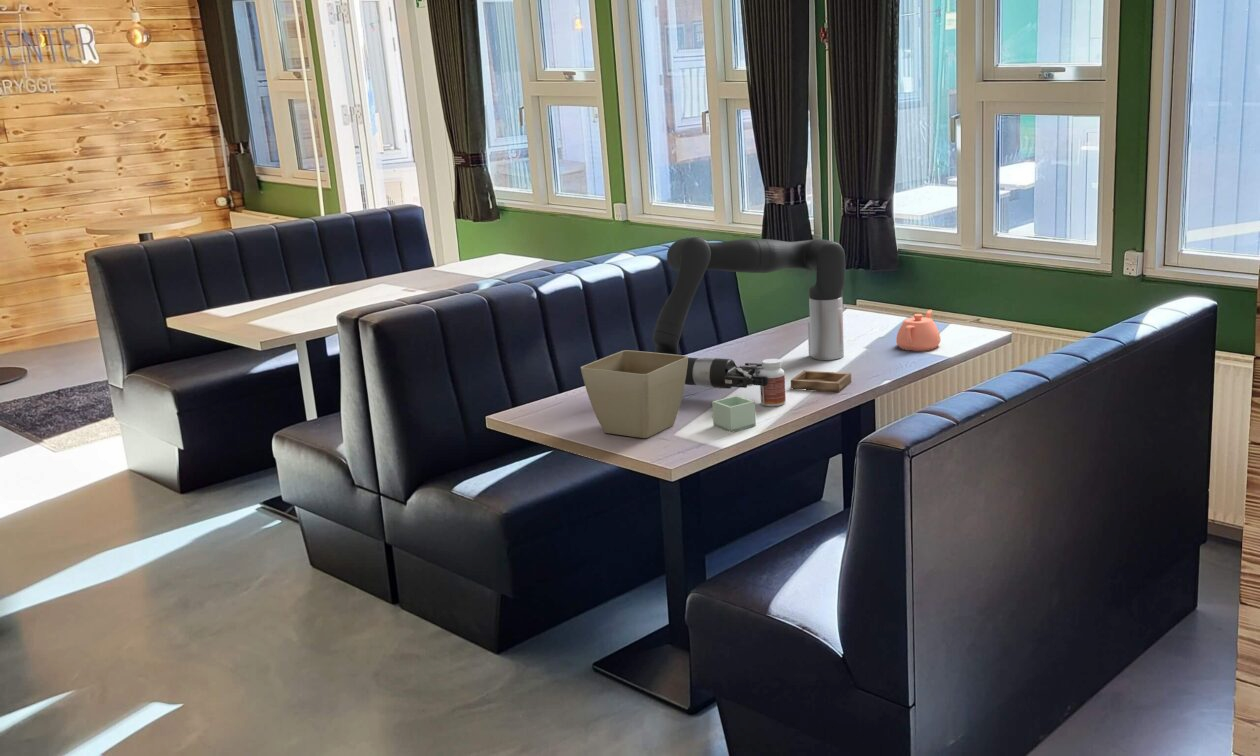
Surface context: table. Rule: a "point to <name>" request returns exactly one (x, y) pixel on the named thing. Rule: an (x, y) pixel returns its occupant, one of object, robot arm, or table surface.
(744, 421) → the pale green bin
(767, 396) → the pill bottle
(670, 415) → the flower pot
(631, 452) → the table surface
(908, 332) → the teapot
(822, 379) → the tray
